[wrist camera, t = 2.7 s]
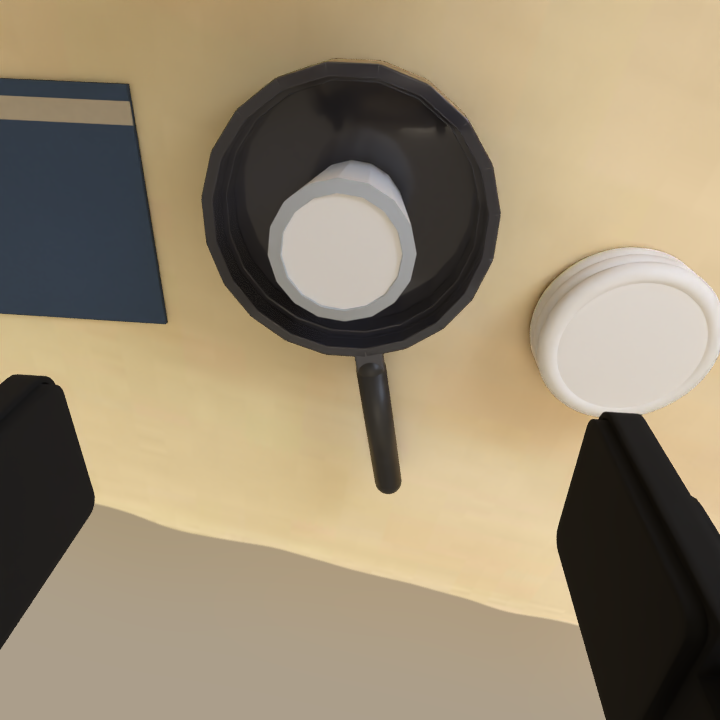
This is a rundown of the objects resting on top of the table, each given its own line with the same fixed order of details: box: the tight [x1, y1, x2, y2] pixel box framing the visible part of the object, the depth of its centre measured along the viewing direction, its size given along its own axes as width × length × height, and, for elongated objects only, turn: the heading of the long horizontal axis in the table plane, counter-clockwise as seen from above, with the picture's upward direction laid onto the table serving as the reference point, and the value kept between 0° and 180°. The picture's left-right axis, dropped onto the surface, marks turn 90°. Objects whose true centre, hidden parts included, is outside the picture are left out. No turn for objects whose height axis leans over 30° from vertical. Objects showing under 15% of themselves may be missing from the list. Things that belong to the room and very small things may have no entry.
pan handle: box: [355, 352, 401, 494], centre depth 35 cm, size 12×2×2 cm, turn 8°
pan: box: [201, 58, 501, 357], centre depth 30 cm, size 15×15×4 cm
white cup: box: [268, 160, 417, 321], centre depth 28 cm, size 7×7×7 cm
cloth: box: [0, 78, 167, 324], centre depth 33 cm, size 14×14×1 cm
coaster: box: [530, 247, 720, 417], centre depth 32 cm, size 10×10×4 cm
